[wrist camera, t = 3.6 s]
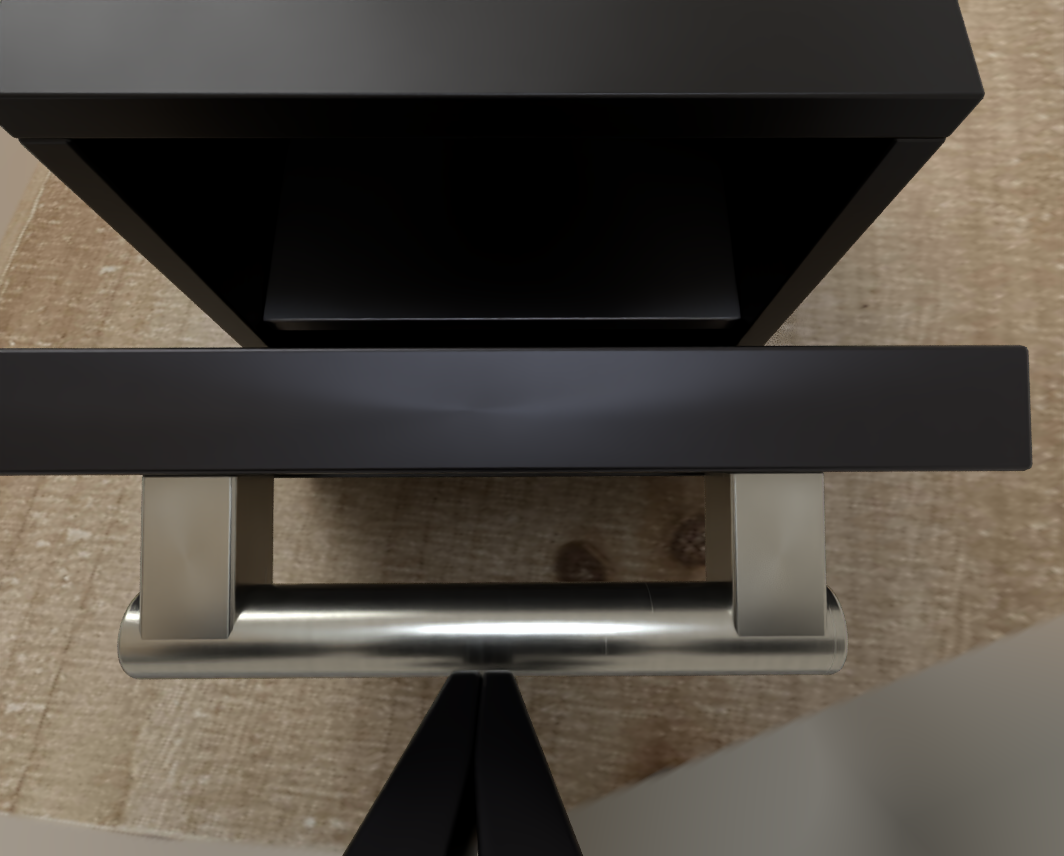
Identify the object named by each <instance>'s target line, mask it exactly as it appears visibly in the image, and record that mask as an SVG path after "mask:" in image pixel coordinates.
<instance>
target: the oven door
mask: <svg viewBox="0 0 1064 856" xmlns="http://www.w3.org/2000/svg"><path fill="white" fill-rule="evenodd" d="M1031 467H1032V439H1031V411H1030V382H1029V354H1028V349H1027V347H1025V346H1021V345H882V346H564V347H247V348H0V476H20V475H143V477H142V506H141V557H140V593H138V594H137V595H136V596H135V598H134V599H133V600H132V601H131V603H130V605H129V606H128V608H127V610H126V612H125V614H124V616H123V619H122V622H121V625H120V629H119V634H118V644H117V647H118V658H119V662H120V664H121V667H122V669H123V670H124V672H125V673H126V674H127V675H129V676H130V677H132V678H135V679H139V680H141V679H283V678H426V677H449V676H450V674H451V673H452V672H454V671H461V670H477V671H479V672H481V674H483V673H484V672H485V671H487V670H509V671H511V672H512V674H513V675H514V677H568V676H711V675H831V674H834V673H836V672H838V671H840V670H841V669H842V667H843V665H844V663H845V661H846V657H847V651H848V633H847V626H846V620H845V616H844V613H843V610H842V607H841V605H840V602H839V600H838V598H837V597H836V595H835V593H834V592H833V590H832V589H831V588H830V587H829V586H828V585H826V551H825V506H824V473H823V472H884V471H1025V470H1027V469H1030V468H1031ZM589 476H704V488H705V555H706V581H636V582H467V583H298V584H273V509H274V478H375V477H589Z"/></svg>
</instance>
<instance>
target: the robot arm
mask: <svg viewBox="0 0 1064 856" xmlns="http://www.w3.org/2000/svg"><path fill="white" fill-rule="evenodd" d="M477 852H478V856H583V855H582V852H581V849H580V847H579V844H578V842H577V839H576V836H575V834H574V831H573V829H572V826H571V824H570V821H569V818H568V815H567V813H566V810H565V808H564V805H563V802H562V800H561V797H560V795H559V792H558V789H557V787H556V784H555V782H554V779H553V776H552V774H551V771H550V769H549V766H548V763H547V761H546V758H545V756H544V753H543V750H542V748H541V745H540V743H539V740H538V737H537V735H536V732H535V729H534V727H533V724H532V722H531V719H530V716H529V714H528V711H527V709H526V706H525V703H524V701H523V698H522V696H521V693H520V690H519V688H518V685H517V683H516V680H515V677H514V675H513V674H512V672H511V671H509V670H487V671H485V672H484V673H483V674H481V672H479V671H477V670H461V671H454V672H452V673H451V674H450V676H449V677H448V678H447V680H446V682H445V684H444V685H443V687H442V689H441V690H440V692H439V694H438V695H437V697H436V699H435V700H434V702H433V704H432V705H431V707H430V709H429V710H428V712H427V714H426V716H425V717H424V719H423V721H422V722H421V724H420V726H419V727H418V729H417V731H416V732H415V734H414V736H413V737H412V739H411V741H410V743H409V744H408V746H407V748H406V749H405V751H404V753H403V754H402V756H401V758H400V759H399V761H398V763H397V764H396V766H395V768H394V770H393V771H392V773H391V775H390V776H389V778H388V780H387V781H386V783H385V785H384V786H383V788H382V790H381V791H380V793H379V795H378V797H377V798H376V800H375V802H374V803H373V805H372V807H371V808H370V810H369V812H368V813H367V815H366V817H365V818H364V820H363V822H362V823H361V825H360V827H359V829H358V830H357V832H356V834H355V835H354V837H353V839H352V840H351V842H350V844H349V845H348V847H347V849H346V850H345V852H344V854H343V856H477Z"/></svg>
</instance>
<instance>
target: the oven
mask: <svg viewBox="0 0 1064 856" xmlns="http://www.w3.org/2000/svg"><path fill="white" fill-rule="evenodd" d="M984 94H985V92H984V89H983V86H982V82H981V79H980V75H979V72H978V68H977V65H976V62H975V58H974V55H973V51H972V48H971V45H970V41H969V38H968V34H967V31H966V27H965V24H964V21H963V17H962V14H961V10H960V7H959V4H958V0H1V1H0V126H1V127H2V128H3V129H4V130H5V131H7V132H8V133H9V134H10V135H11V136H12V137H14V138H18V139H19V141H20V143H21V144H22V145H23V146H24V147H25V148H26V149H27V150H28V151H29V152H31V154H33V155H34V156H35V157H36V158H37V159H38V160H39V161H40V162H41V163H42V164H43V165H45V166H46V167H47V168H48V169H49V170H50V171H51V172H52V173H53V174H54V175H55V176H57V177H58V178H59V179H60V180H61V181H62V182H63V183H64V184H65V185H66V186H67V187H69V188H70V189H71V190H72V191H73V192H74V193H75V194H76V195H77V196H78V197H79V198H81V199H82V200H83V201H84V202H85V203H86V204H87V205H88V206H89V207H90V208H91V209H93V210H94V211H95V212H96V213H97V214H98V215H99V216H100V217H101V218H102V219H103V220H104V221H106V222H107V223H108V224H109V225H110V226H111V227H112V228H113V229H114V230H115V231H116V232H118V233H119V234H120V235H121V236H122V237H123V238H124V239H125V240H126V241H127V242H128V243H130V244H131V245H132V246H133V247H134V248H135V249H136V250H137V251H138V252H139V253H140V254H142V255H143V256H144V257H145V258H146V259H147V260H148V261H149V262H150V263H151V264H152V265H154V266H155V267H156V268H157V269H158V270H159V271H160V272H161V273H162V274H163V275H164V276H166V277H167V278H168V279H169V280H170V281H171V282H172V283H173V284H174V285H175V286H176V287H177V288H179V289H180V290H181V291H182V292H183V293H184V294H185V295H186V296H187V297H188V298H189V299H191V300H192V301H193V302H194V303H195V304H196V305H197V306H198V307H199V308H200V309H201V310H203V311H204V312H205V313H206V314H207V315H208V316H209V317H210V318H211V319H212V320H213V321H215V322H216V323H217V324H218V325H219V326H220V327H221V328H222V329H223V330H224V331H225V332H227V333H228V334H229V335H230V336H231V337H232V338H233V339H234V340H235V341H236V342H237V343H239V344H240V345H241V346H242V347H243V348H247V347H564V346H763V345H764V344H765V343H766V342H767V341H768V340H769V339H770V338H771V336H772V335H773V334H774V333H775V332H776V331H777V330H778V329H779V327H780V326H781V325H782V324H783V323H784V322H785V321H786V320H787V318H788V317H789V316H790V315H791V314H792V313H793V312H794V311H795V309H796V308H797V307H798V306H799V305H800V304H801V303H802V302H803V300H804V299H805V298H806V297H807V296H808V295H809V294H810V293H811V291H812V290H813V289H814V288H815V287H816V286H817V285H818V284H819V282H820V281H821V280H822V279H823V278H824V277H825V276H826V275H827V273H828V272H829V271H830V270H831V269H832V268H833V267H834V266H835V264H836V263H837V262H838V261H839V260H840V259H841V258H842V257H843V255H844V254H845V253H846V252H847V251H848V250H849V249H850V248H851V246H852V245H853V244H854V243H855V242H856V241H857V240H858V239H859V237H860V236H861V235H862V234H863V233H864V232H865V231H866V230H867V228H868V227H869V226H870V225H871V224H872V223H873V222H874V221H875V219H876V218H877V217H878V216H879V215H880V214H881V213H882V212H883V210H884V209H885V208H886V207H887V206H888V205H889V204H890V203H891V201H892V200H893V199H894V198H895V197H896V196H897V195H898V194H899V192H900V191H901V190H902V189H903V188H904V187H905V186H906V185H907V183H908V182H909V181H910V180H911V179H912V178H913V177H914V176H915V174H916V173H917V172H918V171H919V170H920V169H921V168H922V167H923V165H924V164H925V163H926V162H927V161H928V160H929V159H930V158H931V156H932V155H933V154H934V153H935V152H936V151H937V150H938V149H939V147H940V146H941V145H942V144H943V143H944V142H945V139H946V137H948V136H950V135H951V134H952V133H953V132H954V130H955V129H956V128H957V127H958V126H959V125H960V124H961V123H962V121H963V120H964V119H965V118H966V117H967V116H968V115H969V114H970V112H971V111H972V110H973V109H974V108H975V107H976V106H977V105H978V103H979V102H980V101H981V100H982V99H983V97H984Z"/></svg>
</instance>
